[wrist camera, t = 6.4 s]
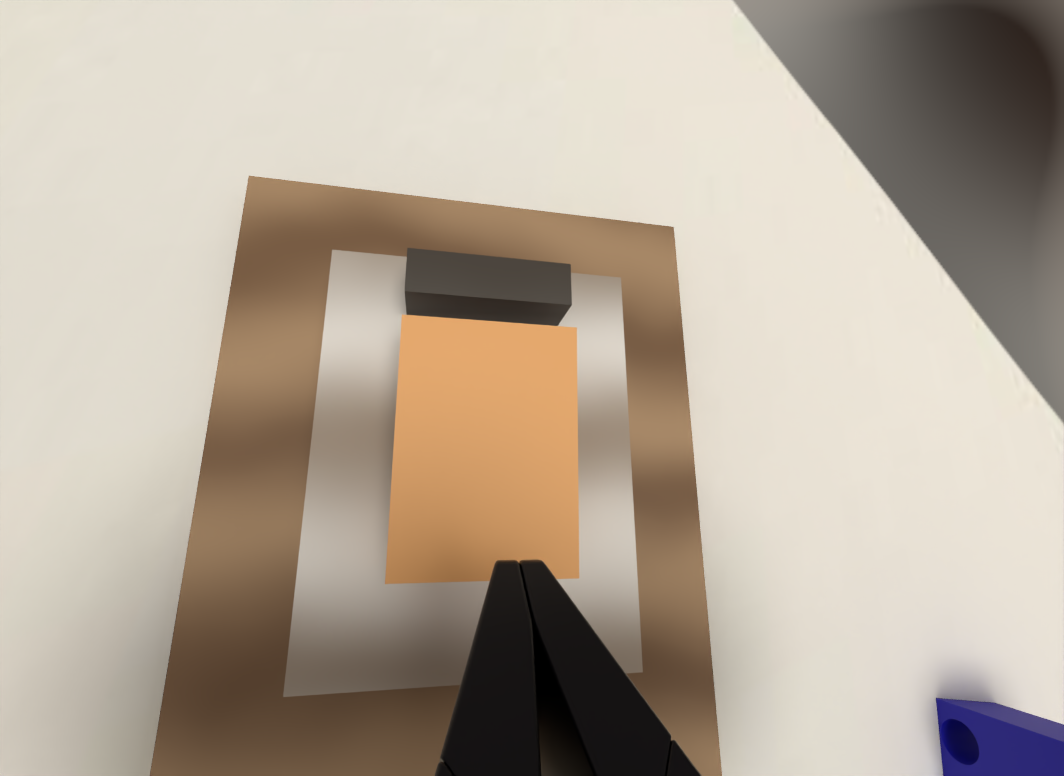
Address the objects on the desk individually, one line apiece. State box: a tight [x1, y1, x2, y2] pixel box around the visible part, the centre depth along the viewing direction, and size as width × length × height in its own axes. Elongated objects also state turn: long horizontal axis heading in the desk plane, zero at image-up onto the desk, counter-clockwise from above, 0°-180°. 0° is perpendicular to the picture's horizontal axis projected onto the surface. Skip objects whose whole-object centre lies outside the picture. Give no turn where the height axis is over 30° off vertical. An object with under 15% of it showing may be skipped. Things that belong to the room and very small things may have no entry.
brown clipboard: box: [150, 176, 722, 776], centre depth 17 cm, size 22×18×6 cm
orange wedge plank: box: [385, 314, 579, 584], centre depth 14 cm, size 7×5×2 cm
